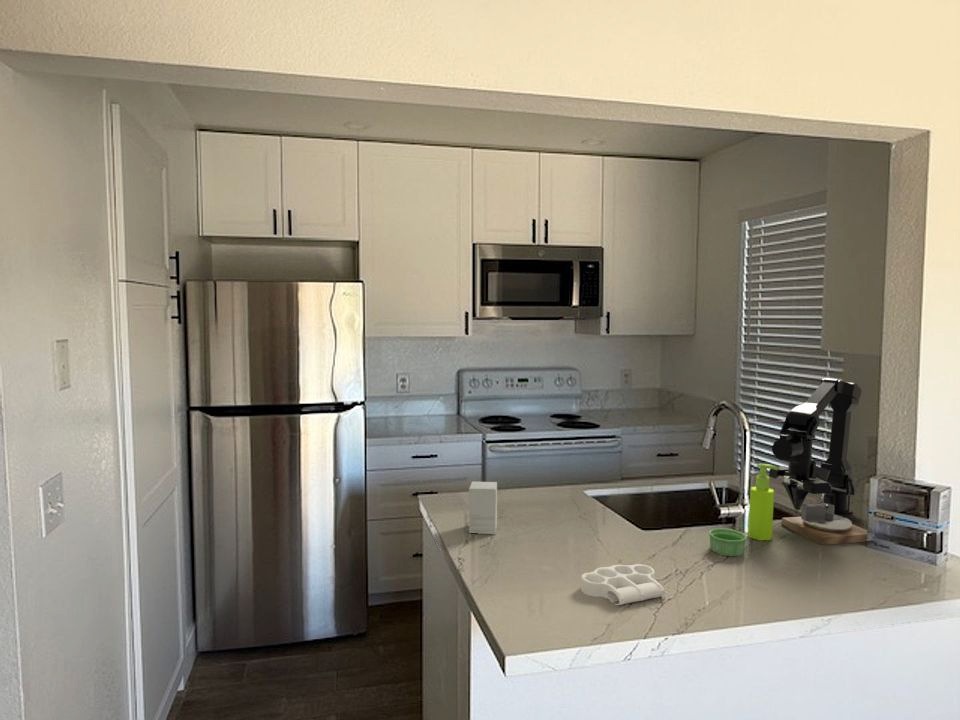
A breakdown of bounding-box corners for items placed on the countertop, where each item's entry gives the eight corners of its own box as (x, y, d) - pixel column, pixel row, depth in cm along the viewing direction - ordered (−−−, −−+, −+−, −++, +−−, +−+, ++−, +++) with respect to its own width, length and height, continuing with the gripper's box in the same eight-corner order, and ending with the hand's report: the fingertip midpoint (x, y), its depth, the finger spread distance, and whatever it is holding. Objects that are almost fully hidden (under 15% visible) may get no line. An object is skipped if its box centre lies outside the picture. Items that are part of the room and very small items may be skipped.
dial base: (830, 521, 192) (830, 513, 192) (873, 540, 176) (874, 532, 176) (781, 524, 189) (782, 517, 188) (821, 544, 173) (822, 536, 173)
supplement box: (497, 525, 185) (498, 481, 184) (495, 535, 177) (496, 489, 176) (471, 524, 185) (471, 480, 184) (468, 533, 178) (468, 488, 177)
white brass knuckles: (606, 612, 135) (569, 583, 148) (676, 598, 142) (635, 571, 155) (606, 596, 135) (569, 569, 148) (677, 583, 142) (636, 558, 155)
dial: (832, 516, 189) (833, 497, 188) (861, 531, 177) (863, 511, 177) (790, 518, 187) (791, 499, 187) (816, 532, 175) (818, 512, 175)
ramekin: (749, 559, 163) (749, 542, 163) (710, 556, 165) (711, 538, 164) (742, 546, 172) (743, 529, 171) (706, 543, 174) (706, 527, 173)
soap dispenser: (772, 543, 174) (776, 468, 172) (745, 537, 178) (749, 464, 176) (778, 536, 179) (782, 464, 177) (751, 531, 183) (755, 460, 181)
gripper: (850, 462, 178) (846, 518, 179) (802, 446, 196) (799, 498, 197) (814, 463, 175) (811, 520, 177) (769, 448, 194) (766, 500, 195)
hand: (797, 509), depth 187 cm, fingers closed
